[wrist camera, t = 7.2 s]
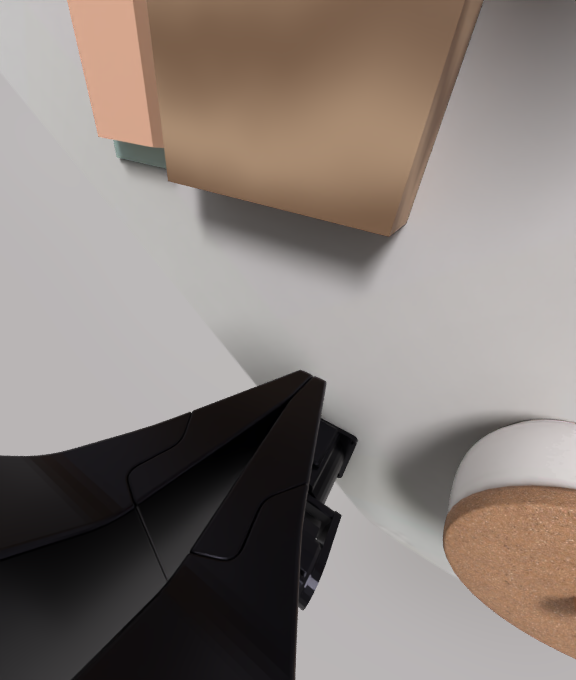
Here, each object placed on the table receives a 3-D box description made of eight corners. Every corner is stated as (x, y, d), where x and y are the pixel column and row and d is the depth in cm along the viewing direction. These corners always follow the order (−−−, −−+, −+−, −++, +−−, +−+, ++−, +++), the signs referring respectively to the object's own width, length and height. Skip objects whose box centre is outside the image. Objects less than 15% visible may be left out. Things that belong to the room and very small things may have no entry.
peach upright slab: (98, 136, 21) (123, 138, 22) (153, 147, 19) (176, 148, 20) (53, -60, 16) (89, -41, 17) (122, -75, 14) (156, -52, 15)
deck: (406, 223, 15) (389, 236, 12) (213, 178, 20) (168, 181, 17) (551, -197, 8) (590, -393, 5) (202, -109, 13) (124, -187, 10)
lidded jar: (444, 382, 19) (423, 510, 12) (721, 391, 12) (1031, 680, 5) (460, 494, 22) (452, 642, 15) (680, 545, 16) (832, 834, 9)
